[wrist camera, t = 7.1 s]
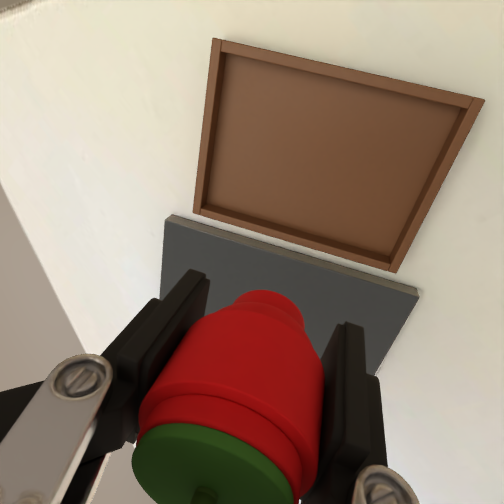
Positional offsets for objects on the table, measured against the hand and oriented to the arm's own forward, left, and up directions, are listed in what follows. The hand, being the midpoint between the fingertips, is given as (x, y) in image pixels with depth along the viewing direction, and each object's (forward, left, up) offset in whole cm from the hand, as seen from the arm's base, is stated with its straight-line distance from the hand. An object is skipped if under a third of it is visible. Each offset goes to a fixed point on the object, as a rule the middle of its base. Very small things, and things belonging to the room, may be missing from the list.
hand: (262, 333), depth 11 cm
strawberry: (0, 0, -1) cm, 1 cm away
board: (0, +10, -15) cm, 18 cm away
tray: (0, -2, -15) cm, 15 cm away
